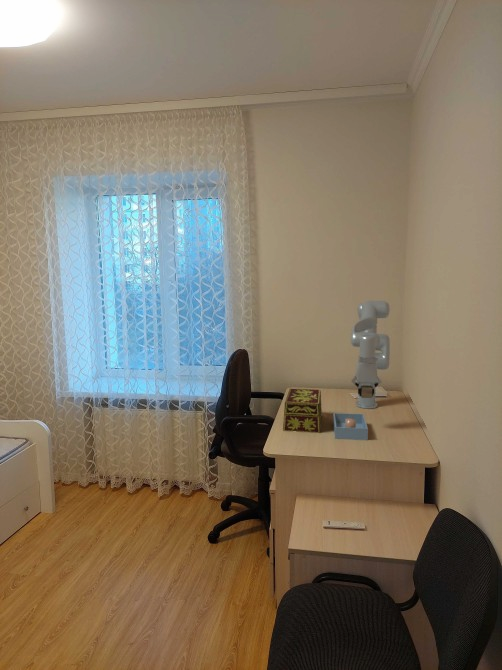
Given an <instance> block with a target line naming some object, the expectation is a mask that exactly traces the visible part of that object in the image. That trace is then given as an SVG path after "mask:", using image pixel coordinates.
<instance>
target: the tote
mask: <svg viewBox="0 0 502 670" xmlns="http://www.w3.org/2000/svg"><path fill="white" fill-rule="evenodd" d="M332 415H333V419H332V424H333V432H334V439H337V440H355V441H357V440H360V441H368V438H369V435H368V433H369V428H368V424H367V422H366V419H365V415H364V414H363V413H344V412H343V413H342V412H333V414H332ZM346 418H354V419H356V428H347V427H345V419H346Z"/></svg>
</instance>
